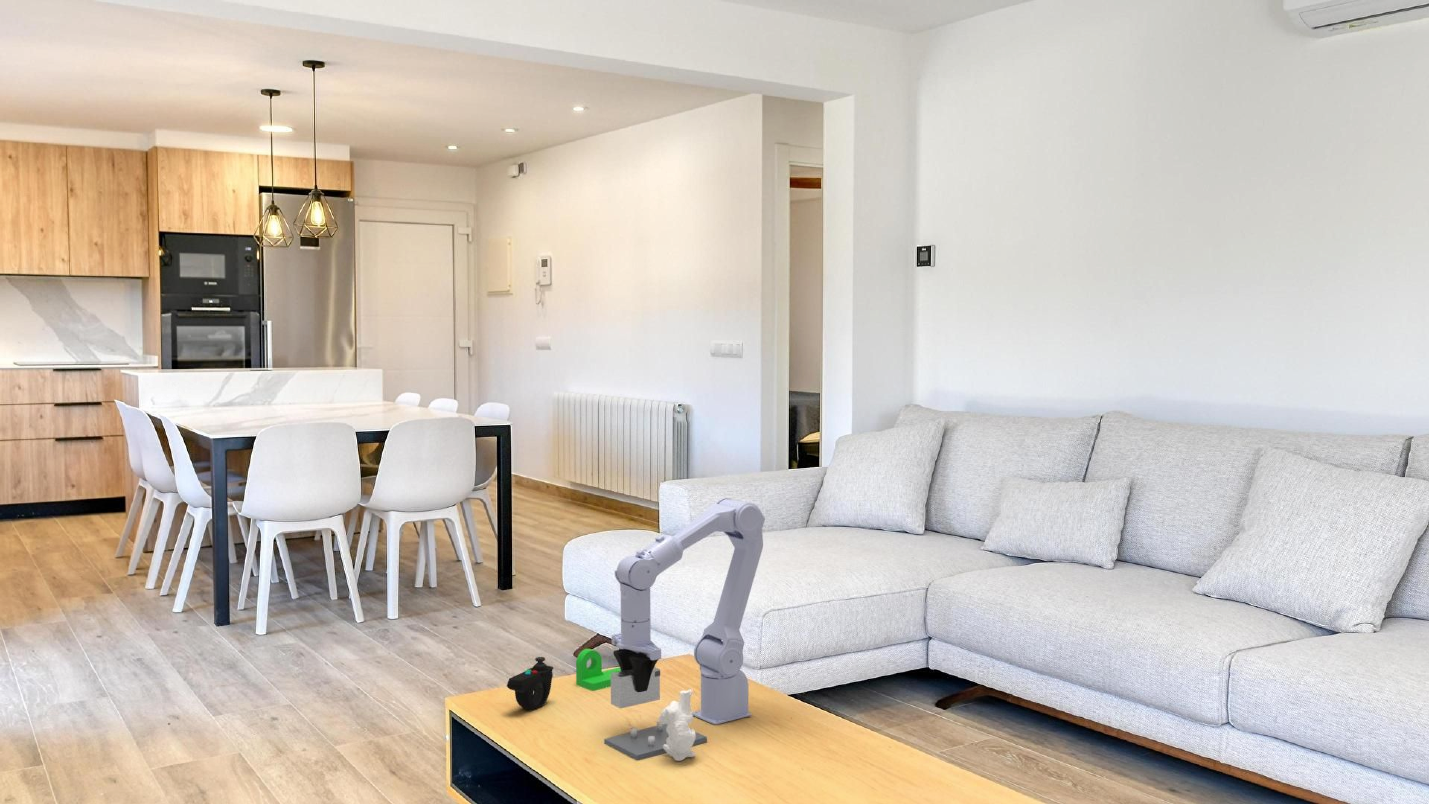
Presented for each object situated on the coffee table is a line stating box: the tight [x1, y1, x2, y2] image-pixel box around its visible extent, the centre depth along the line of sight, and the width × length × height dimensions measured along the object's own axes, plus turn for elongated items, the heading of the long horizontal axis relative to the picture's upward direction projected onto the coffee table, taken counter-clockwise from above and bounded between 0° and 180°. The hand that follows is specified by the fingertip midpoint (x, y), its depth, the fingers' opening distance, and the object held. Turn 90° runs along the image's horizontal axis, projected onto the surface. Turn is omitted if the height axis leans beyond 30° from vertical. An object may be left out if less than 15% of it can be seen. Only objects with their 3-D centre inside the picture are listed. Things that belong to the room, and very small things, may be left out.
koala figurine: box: [658, 688, 696, 762], centre depth 213 cm, size 8×7×12 cm
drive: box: [610, 666, 661, 709], centre depth 225 cm, size 9×4×6 cm, turn 127°
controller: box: [506, 656, 554, 711], centre depth 240 cm, size 4×12×10 cm, turn 153°
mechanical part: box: [575, 648, 621, 692], centre depth 258 cm, size 12×6×8 cm, turn 133°
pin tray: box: [603, 720, 708, 761], centre depth 220 cm, size 16×11×3 cm
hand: (636, 688), depth 225 cm, fingers closed on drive, 3 cm apart
